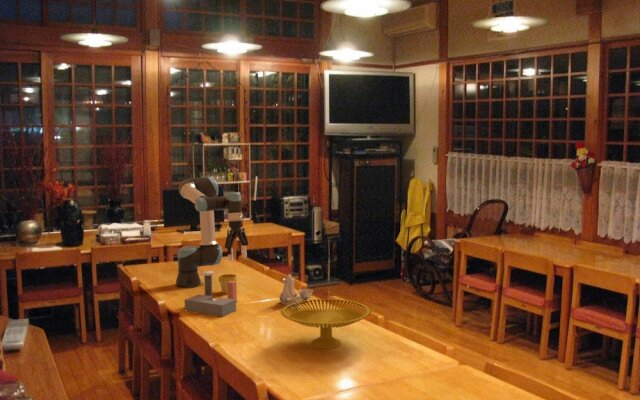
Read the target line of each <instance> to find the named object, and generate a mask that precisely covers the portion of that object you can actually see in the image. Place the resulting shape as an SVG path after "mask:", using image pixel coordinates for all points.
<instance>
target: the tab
mask: <svg viewBox="0 0 640 400" xmlns="http://www.w3.org/2000/svg"><path fill="white" fill-rule="evenodd" d="M237 291H238V290H237V281H229V282H227V293H228V294H227V298H228V299H235V300H236V304H237V303H238V298H237V295H238V294H237V293H238V292H237Z"/></svg>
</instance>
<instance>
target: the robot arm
mask: <svg viewBox="0 0 640 400" xmlns="http://www.w3.org/2000/svg"><path fill="white" fill-rule="evenodd" d="M178 192H179V194H180V196H181V197H182V198H183V199H185V200H189V201H190V202H191V203H193V204H194V208H195V210H196V212H199V223H200V238H201V240H200V243H199V244H198V246H197V245H185V246H183V247H180V248H179V249H178V250H177V271H178V272H177V276H176V280H175V287H177V288H183V289H184V288H196V287H200V286H202V280H201V276H200V274H199V267H209V266H216V265H219V264H220V263H221V261H222V258H223V248H222V246H221V245H219V242H218V241H217V240H216V230H215V229H216V227H215V212H214V211H225V210H226V211H227V216H228V217H227V218H228V228H229V229H227V231H226V239H225V243H224V248H225V249H226V250H227V260H228V261H234V248H233V244H234V242H235V240H236V239H238V240H239V242H240V244H241V245H240V247H241V249H240V250H241V258H247V257H248V256H247V255H248V253H247V246H249V240H248V236H247V234H246V231H245V230H246V229H245V228H244V227H243V213H242V211H243V209H242V196H241V192H239V191H238V192H237V191H236V192H235V191H234V192H227V194H226V195H223V196H218V195H219V185H218V182H217V181H216V179H215V178H214V177H209V176H208V177H207V176H206V177H196V178H195V177H192V178H190V177H189V178H187V179H185V180H183V181H182V182H181V183H180V184H179V187H178Z"/></svg>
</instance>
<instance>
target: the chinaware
mask: <svg viewBox="0 0 640 400" xmlns="http://www.w3.org/2000/svg"><path fill="white" fill-rule="evenodd" d="M295 279H296V278H295V277H292V275H291V274H290V273H287V276H285V277H283V278H282V280H283V288H282V291H281V292H280V294H279V297H278V298H279V300H280V302H281V304H282V305H285V306H286V305H289V304H291V303H294V302H298V304H299V305H300V306H301V304H300V303H299V302H300V301H304V300H309V299H310V298H311V296H312V295H313V292H314V290H313V289H309V288H302V289H301V288H300V289H298V290H297V292H296V289H295ZM298 293H299V295H298ZM295 304H296V303H295ZM292 305H293V304H292ZM290 306H291V305H290ZM293 306H294V305H293ZM296 306H297V307H298V308H300V307H299V306H298V305H297V304H296ZM291 307H292V306H291ZM294 307H295V306H294ZM289 308H290V307H289ZM295 308H296V307H295ZM298 308H296V309H298ZM290 309H291V308H290ZM293 309H294V308H293ZM296 309H294V310H296Z"/></svg>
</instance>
